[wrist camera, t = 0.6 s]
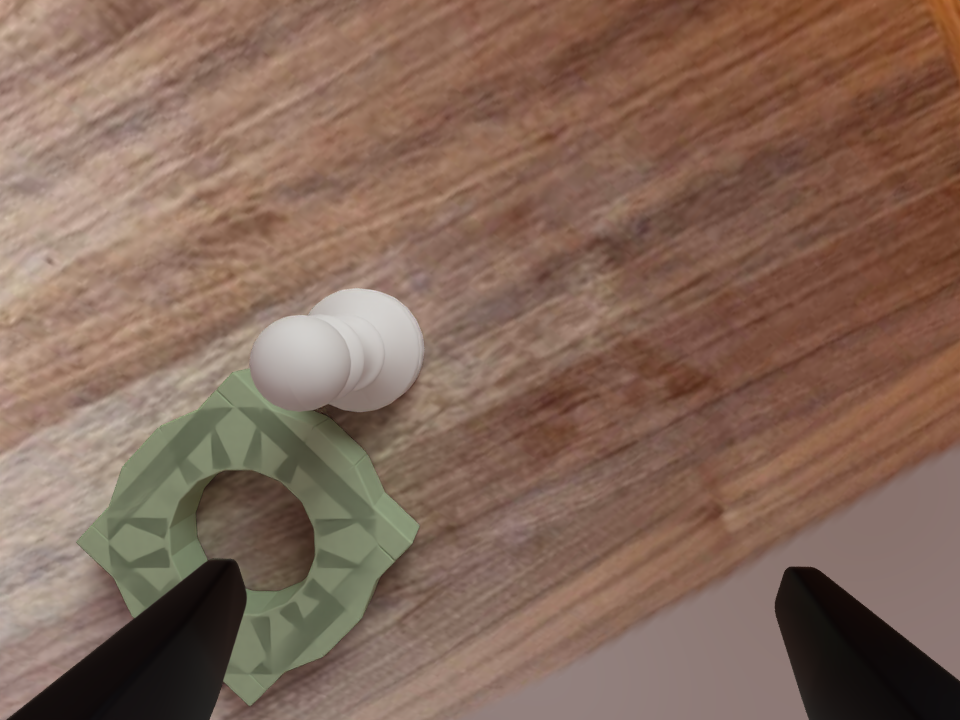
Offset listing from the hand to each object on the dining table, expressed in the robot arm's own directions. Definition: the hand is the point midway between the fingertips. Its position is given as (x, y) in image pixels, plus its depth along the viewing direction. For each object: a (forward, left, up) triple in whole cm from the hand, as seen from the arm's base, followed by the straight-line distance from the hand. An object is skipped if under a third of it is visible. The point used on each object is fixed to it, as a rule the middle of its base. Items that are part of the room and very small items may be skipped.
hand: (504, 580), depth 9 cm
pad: (-11, +4, -15) cm, 19 cm away
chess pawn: (-2, +6, -15) cm, 16 cm away
